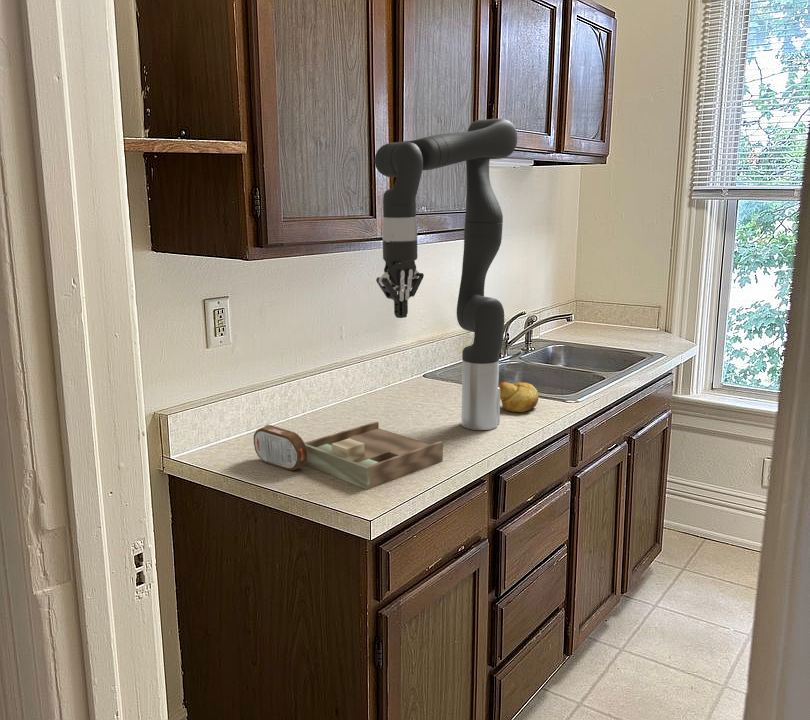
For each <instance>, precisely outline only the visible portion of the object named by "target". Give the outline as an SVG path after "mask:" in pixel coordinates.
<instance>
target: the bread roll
mask: <svg viewBox="0 0 810 720" xmlns="http://www.w3.org/2000/svg"><path fill="white" fill-rule="evenodd" d="M498 387H499V388H500V402H501V405H502V407H503V409H504V410H506V411H507V412H508V411H509V412H512V413H514V412H515V413H524V412H526V411H529V410H532V409H533V408H535V407H537V404H538V401H539V396H540V394H539V391H538V389H536V387H534V385H533V384H531V383H528V382H521V381H520V382H515V383H510V382H507V381H503V382H499V383H498Z"/></svg>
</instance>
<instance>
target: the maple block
mask: <svg viewBox="0 0 810 720" xmlns="http://www.w3.org/2000/svg"><path fill="white" fill-rule="evenodd" d="M331 446H332V454H335V455H338V456H340V457H343V458H346V459H348V460H351V461H354V460H357V459H360V458H363V457H365V449H364V443H361V442H358V441H355V440H352V439H345V440H342V441H339V442H336V443H332V444H331Z"/></svg>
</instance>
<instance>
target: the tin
mask: <svg viewBox="0 0 810 720" xmlns="http://www.w3.org/2000/svg"><path fill="white" fill-rule="evenodd" d="M253 446H254V450H255V453H256V456H258V457H259V460H261V461H263V462H264V463H266V464H269V465H272V466H274V467H277V468H281V469H284V470H286V471H291V472H292V471H294V470H298V469H300V468H303V467H304V466H306V465H305V464H306V461H307V448H306V445H305V442H304V440H303V438H302V437H301V436H300V435H299V434H298V433H296V432H294V431H291V430H288V429H284V428H282V427H281V428H280V427H278V426H275V425H271V424H267V425H264V426H262V427H260V428H258V429H257V430H256V431H255V432H254V434H253Z"/></svg>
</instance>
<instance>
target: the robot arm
mask: <svg viewBox="0 0 810 720" xmlns="http://www.w3.org/2000/svg"><path fill="white" fill-rule="evenodd" d="M517 145H518V132H517V129H516V126H515V125H514V123H512V122H511V121H510V120H508V119H504V118H490V119H477V120H474V121H473V122H471V124H470V125H469V126H468V128H467V131H461V132H460V131H459V132H450V133H448V132H447V133H441V134H439V133H438V134H435V135H434V134H433V135H430V136H426V137H422V138H417V139H414V140H404V141H397V142H389V143H385V144H382V146H380V147H379V149H377V151H376V153H375V156H374V165H375V166H374V167H376V169H377V171H378V172H379V173H380V174H381V175H382V176H384V177H388V178H395V182H394V186H393V187H391V188H389V189H387V190H386V191H384V193H383V195H382V196H383V199H382V205H383V206H382V210H383V211H382V213H383V219H382V259H383V261H384V262H385V264H384V268H383V272H384V273H383V274H382V275H381V276H380V277H379V276H378V277H376V280H375V281H376V283H377V284H378V287H379V288H380V289H381V291H382V293H384V294H383V295H384V296H385V297H386V298H387V299H389V300H392V301H393V309H394V312H393V314H394V316H395V317H396V318H398V319H403V318H404V319H405V318H407V316H408V313H409V312H408V311H409V310H408V309H409V308H408V307H409V306H408V305H409V303H408V302H409V300H410V299H411V298H414V297H415V295H416V293H417V291H418V289H419V287H420V285H421V283H422V281H423V279H424V276H425V275H424V273H422V272H419V270H417V264H416V262H415V261H417V260H418V224H417V213H416V212H417V208H416V207H417V203H416V202H417V200H416V199H417V194H418V191H419V190H418V189H419V186H420V181H421V177H422V173H423V171H430V170H431V171H432V170H435V169H439V168H443V167H447V166H451V165H455V164H457V163H458V164H459V163H462V162H465V165H466V166H465V167H466V169H465V170H466V194H465V195H466V197H465V198H466V201H465V217H464V230H463V232H464V233H463V234H464V235H463V255H462V265H461V267H462V268H461V277H460V283H459V291H458V297H457V303H456V320H457V323H458V325H459V327H460V328H461V329H463V330H465V331H467V332H472V333H474V336H473V337H474V338H473V341H472V342H473V343H472V344H471V345H468V346H465V347H463V349H462V352H461V353H462V355H461V358H462V359H461V360H462V361H461V420H460V422H461V423H460V424H461V426H462V428H464V429H468V430H474V431H489V430H493V429H495V428H497V427H498V425H499V424H500V423H501V422H500V421H501V420H500V419H501V418H500V417H501V416H500V415H501V399H500V388H499V387H498V385H499V383H500V382H499V378H500V376H499V373H500V368H499V367H500V353H502V352H501V351H502V349H503V344H504V332H505V331H504V328H505V310H504V307H503V304H502V302H500V301H499V300H498V299H497V298H495V297H490V296H485V285H486V276H487V273H488V271H489V268H490V267H491V265H492V263H493V261H494V259H495V257H496V256H497V254H498V252H499V249H500V247H501V245H502V239H503V238H502V237H503V222H504V221H503V217H504V216H503V211H502V208H501V205H500V203H499V201H498V199H497V196H496V194H495V192H494V190H493V187H492V185H491V184H492V183H491V180H490V160H500V159H504V158H505V159H506V158H507V157H509V156H511V155H512V154H513V152H514V151H515V149H516V147H517Z"/></svg>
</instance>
